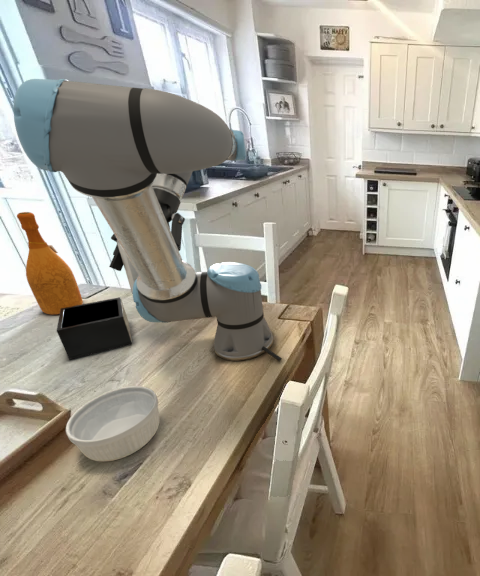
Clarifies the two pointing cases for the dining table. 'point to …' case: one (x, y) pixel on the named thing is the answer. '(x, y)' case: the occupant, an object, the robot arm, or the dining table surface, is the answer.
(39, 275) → the wine bottle
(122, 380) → the dining table surface
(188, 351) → the dining table surface
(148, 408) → the ramekin
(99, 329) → the open black box
